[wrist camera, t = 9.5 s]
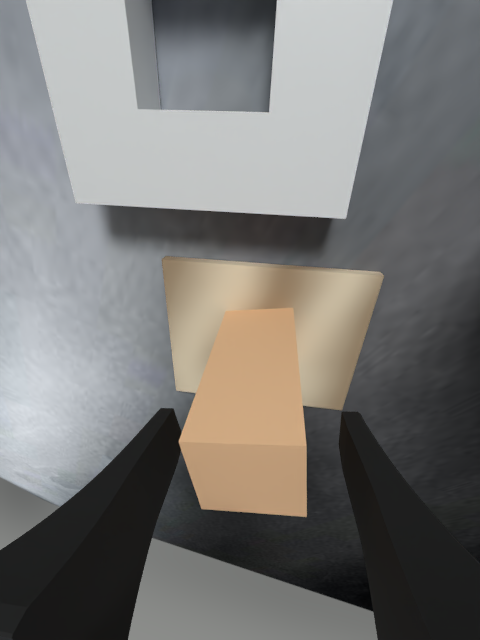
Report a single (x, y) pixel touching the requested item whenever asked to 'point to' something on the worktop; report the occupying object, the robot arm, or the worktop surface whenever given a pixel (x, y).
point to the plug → (249, 419)
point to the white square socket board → (211, 126)
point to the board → (271, 293)
